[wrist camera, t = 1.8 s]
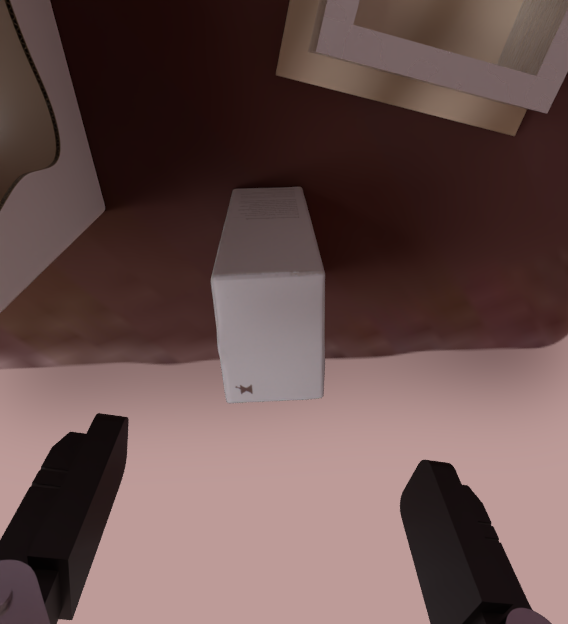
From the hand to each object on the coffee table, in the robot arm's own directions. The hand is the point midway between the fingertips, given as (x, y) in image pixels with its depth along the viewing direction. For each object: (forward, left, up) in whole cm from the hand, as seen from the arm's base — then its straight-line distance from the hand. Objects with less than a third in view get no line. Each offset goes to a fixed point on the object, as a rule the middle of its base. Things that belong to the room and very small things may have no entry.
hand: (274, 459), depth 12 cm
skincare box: (0, 0, -18) cm, 18 cm away
